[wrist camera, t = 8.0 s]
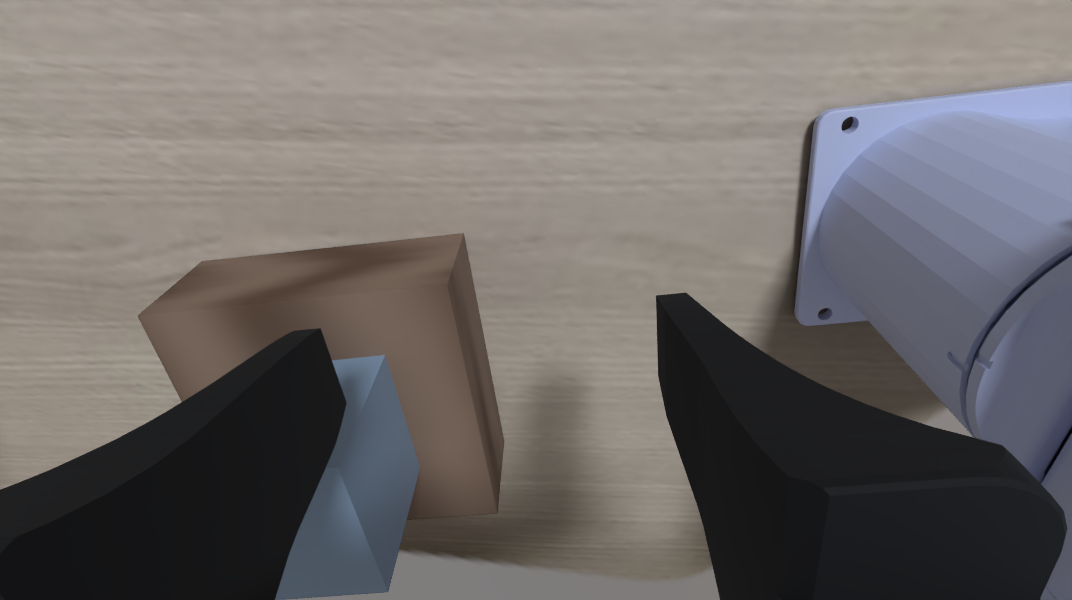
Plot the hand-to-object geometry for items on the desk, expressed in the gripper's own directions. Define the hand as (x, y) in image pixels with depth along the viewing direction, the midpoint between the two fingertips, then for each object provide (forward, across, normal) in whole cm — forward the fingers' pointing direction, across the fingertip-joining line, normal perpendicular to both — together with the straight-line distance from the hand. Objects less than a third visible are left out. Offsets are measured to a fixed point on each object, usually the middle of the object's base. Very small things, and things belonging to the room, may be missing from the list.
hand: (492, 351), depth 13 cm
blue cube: (+5, +7, +6) cm, 11 cm away
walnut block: (+9, +7, +6) cm, 13 cm away
